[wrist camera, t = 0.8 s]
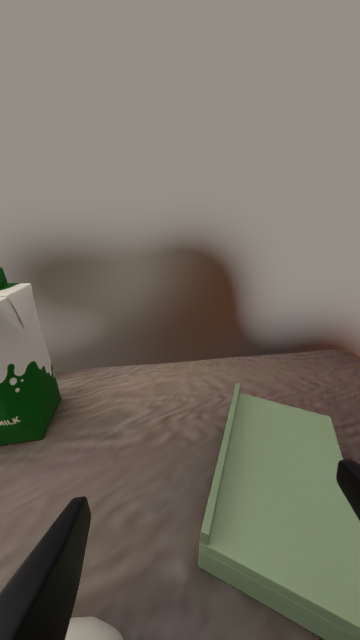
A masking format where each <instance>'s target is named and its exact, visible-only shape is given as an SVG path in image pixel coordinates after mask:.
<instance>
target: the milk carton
mask: <svg viewBox="0 0 360 640" xmlns="http://www.w3.org/2000/svg"><path fill="white" fill-rule="evenodd" d="M60 399H61V396H60V392H59V389H58V385H57V381H56V378H55V374H54V371H53V368H52V365H51V361H50V358H49V354H48V351H47V348H46V344H45V341H44V338H43V334H42V331H41V328H40V324H39V321H38V317H37V312H36V308H35V303H34V298H33V292H32V287H31V284H30V283H27V284H26V283H25V284H19V283H7V280H6V277H5V274H4V271H3V269H2V267H0V445H6V444H13V443H20V442H27V441H33V440H40V439H43V437H44V434H45V432H46V430H47V428H48V425H49V423H50V421H51V419H52V417H53V414H54V412H55V410H56V408H57V405H58V403H59V401H60Z"/></svg>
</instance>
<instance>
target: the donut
mask: <svg viewBox="0 0 360 640" xmlns="http://www.w3.org/2000/svg"><path fill="white" fill-rule="evenodd" d="M65 640H124V638H123V637H122V635H121V634H120V633H119V631H118V630H117V629H116V628H114V627H112V626H111V625H109V624H107V623H105V622H103V621H101V620H100V619H98V618H96V617H76V618H71V619H70V623H69V627H68V630H67V634H66V638H65Z"/></svg>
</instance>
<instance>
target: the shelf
mask: <svg viewBox="0 0 360 640" xmlns="http://www.w3.org/2000/svg"><path fill="white" fill-rule="evenodd" d="M240 386H241V384H239V383H236V386H235V390H234V394H233V398H232V402H231V406H230V411H229V415H228V419H227V423H226V427H225V432H224V436H223V440H222V444H221V448H220V452H219V457H218V461H217V465H216V469H215V473H214V478H213V482H212V486H211V490H210V494H209V498H208V503H207V507H206V511H205V515H204V519H203V524H202V528H201V534H200V546H199V558H198V567H200V568H202V569H204V570H205V571H207V572H209V573H210V574H212V575H214V576H216V577H217V578H219V579H221V580H223V581H224V582H226V583H228V584H229V585H231V586H233V587H235V588H236V589H238V590H240V591H242V592H243V593H245V594H247V595H248V596H250V597H252V598H254V599H255V600H257V601H259V602H261V603H262V604H264V605H266V606H267V607H269V608H271V609H273V610H274V611H276V612H278V613H280V614H281V615H283V616H285V617H286V618H288V619H290V620H292V621H293V622H295V623H297V624H299V625H300V626H302V627H304V628H305V629H307V630H309V631H311V632H312V633H314V634H316V635H318V636H319V637H321V638H323V639H325V640H360V521H359V519H358V517H357V516H356V514H355V512H354V511H353V509H352V507H351V506H350V504H349V502H348V500H347V499H346V497H345V495H344V494H343V492H342V490H341V489H340V487H339V485H338V483H337V480H336V474H337V467H338V462H339V461H340V460H343V458H342V455H341V451H340V448H339V444H338V441H337V438H336V434H335V431H334V427H333V424H332V421H331V417H329V416H325V415H321V414H318V413H314V412H310V411H306V410H303V409H299V408H295V407H291V406H288V405H284V404H280V403H276V402H273V401H269V400H265V399H261V398H258V397H254V396H250V395H246V394H243V393H240Z"/></svg>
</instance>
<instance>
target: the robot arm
mask: <svg viewBox="0 0 360 640" xmlns="http://www.w3.org/2000/svg"><path fill="white" fill-rule="evenodd" d="M336 480H337V483H338V485H339V487H340V489H341V490H342V492H343V494H344V495H345V497H346V499H347V500H348V502H349V504H350V506H351V507H352V509H353V511H354V512H355V514H356V516H357V517H358V519H359V521H360V464H359V463H357V462H355V461H353V460H351V459H346V460H340V461H339V462H338V467H337V474H336ZM90 521H91V513H90V509H89V505H88V501H87V498H86V497H76V498H74V499H72V500H71V501H70V503H69V504H68V505H67V506H66V508H65V509H64V510H63V512H62V513H61V514H60V516H59V517H58V518H57V519H56V521H55V522H54V523H53V525H52V526H51V527H50V529H49V530H48V531H47V532H46V534H45V535H44V536H43V538H42V539H41V540H40V542H39V543H38V544H37V545H36V547H35V548H34V549H33V551H32V552H31V553H30V555H29V556H28V557H27V558H26V560H25V561H24V562H23V564H22V565H21V566H20V568H19V569H18V570H17V571H16V573H15V574H14V575H13V577H12V578H11V579H10V581H9V582H8V583H7V585H6V586H5V587H4V588H3V590H2V591H1V592H0V640H65V638H66V634H67V630H68V627H69V623H70V619H71V615H72V611H73V607H74V603H75V599H76V595H77V591H78V587H79V582H80V577H81V571H82V566H83V560H84V554H85V549H86V543H87V538H88V532H89V527H90Z"/></svg>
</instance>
